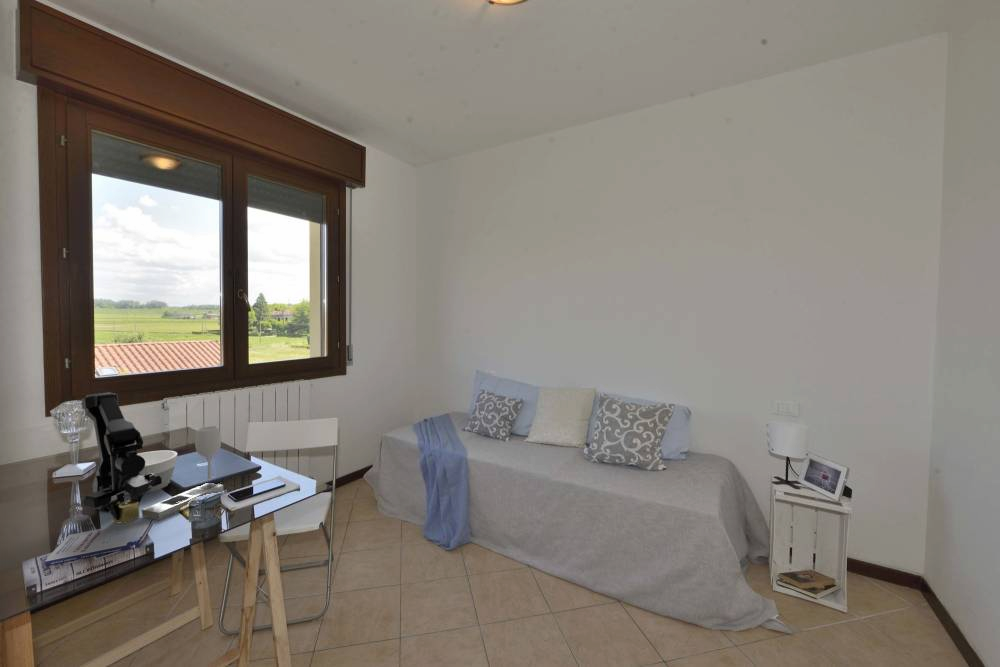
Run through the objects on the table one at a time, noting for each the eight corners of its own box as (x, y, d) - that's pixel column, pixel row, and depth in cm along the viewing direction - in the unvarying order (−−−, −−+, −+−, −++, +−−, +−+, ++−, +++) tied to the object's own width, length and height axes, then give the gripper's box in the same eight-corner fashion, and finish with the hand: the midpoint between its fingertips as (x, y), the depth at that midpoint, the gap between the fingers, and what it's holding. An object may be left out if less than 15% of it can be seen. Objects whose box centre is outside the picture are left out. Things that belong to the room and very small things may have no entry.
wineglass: (229, 479, 167) (226, 425, 166) (208, 488, 159) (206, 432, 157) (211, 476, 169) (209, 424, 168) (190, 485, 161) (187, 430, 160)
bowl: (105, 489, 158) (103, 460, 158) (168, 473, 174) (167, 447, 173) (120, 503, 147) (119, 472, 146) (186, 484, 162) (185, 456, 162)
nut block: (113, 521, 134) (112, 505, 134) (129, 515, 138) (128, 499, 138) (123, 523, 133) (122, 507, 132) (139, 517, 137) (138, 501, 137)
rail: (142, 517, 137) (142, 509, 137) (208, 489, 158) (207, 482, 158) (159, 520, 135) (158, 512, 134) (223, 491, 155) (223, 484, 155)
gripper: (105, 482, 123) (109, 535, 124) (172, 460, 141) (175, 506, 142) (80, 477, 126) (83, 529, 127) (148, 456, 144) (151, 502, 145)
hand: (126, 516), depth 135 cm, fingers closed on nut block, 4 cm apart
